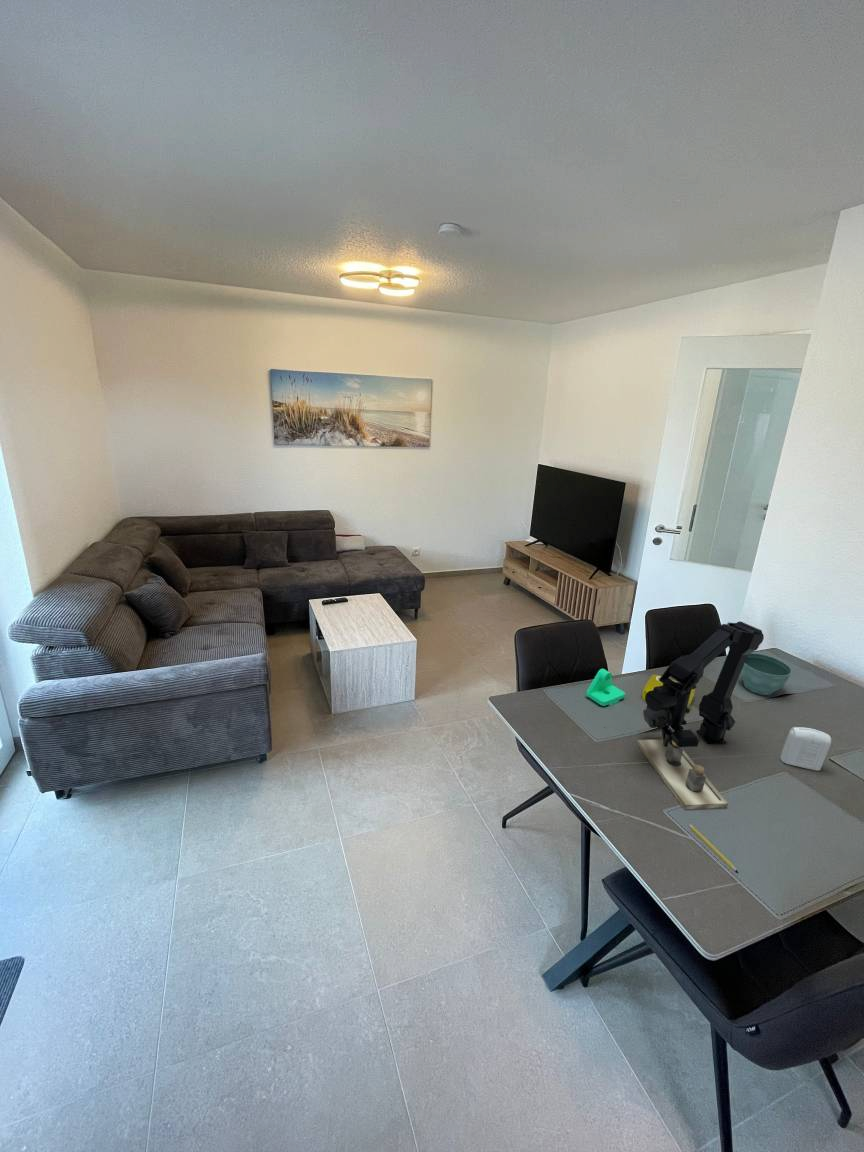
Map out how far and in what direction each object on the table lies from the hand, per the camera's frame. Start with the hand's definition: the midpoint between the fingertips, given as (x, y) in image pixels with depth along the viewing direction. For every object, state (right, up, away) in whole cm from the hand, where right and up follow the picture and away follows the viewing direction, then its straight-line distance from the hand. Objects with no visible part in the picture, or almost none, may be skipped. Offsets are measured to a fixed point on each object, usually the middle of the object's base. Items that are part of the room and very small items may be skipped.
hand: (665, 746), depth 150 cm
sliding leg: (0, -3, -4) cm, 4 cm away
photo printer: (+40, -5, 0) cm, 41 cm away
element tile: (+15, +7, +31) cm, 35 cm away
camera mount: (-8, +7, +28) cm, 30 cm away
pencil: (-3, -15, -30) cm, 34 cm away
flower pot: (+53, +8, +39) cm, 66 cm away
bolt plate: (+1, -6, -6) cm, 9 cm away
